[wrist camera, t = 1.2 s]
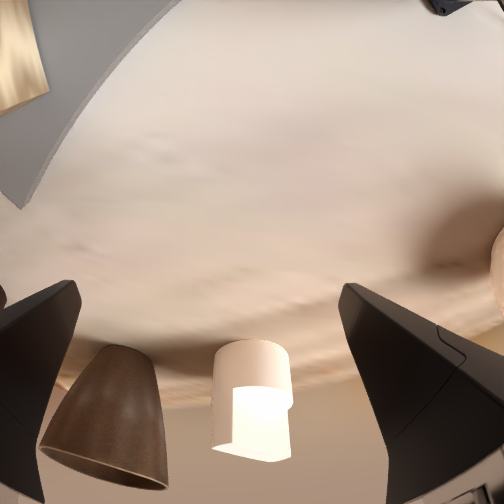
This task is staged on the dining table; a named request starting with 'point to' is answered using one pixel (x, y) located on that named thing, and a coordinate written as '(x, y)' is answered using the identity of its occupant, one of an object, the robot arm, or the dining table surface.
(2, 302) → the coffee mug
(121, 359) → the plant pot
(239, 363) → the cream cylindrical piece
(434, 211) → the dining table surface
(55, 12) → the slate board
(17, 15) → the ash link
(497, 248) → the lidded bowl
